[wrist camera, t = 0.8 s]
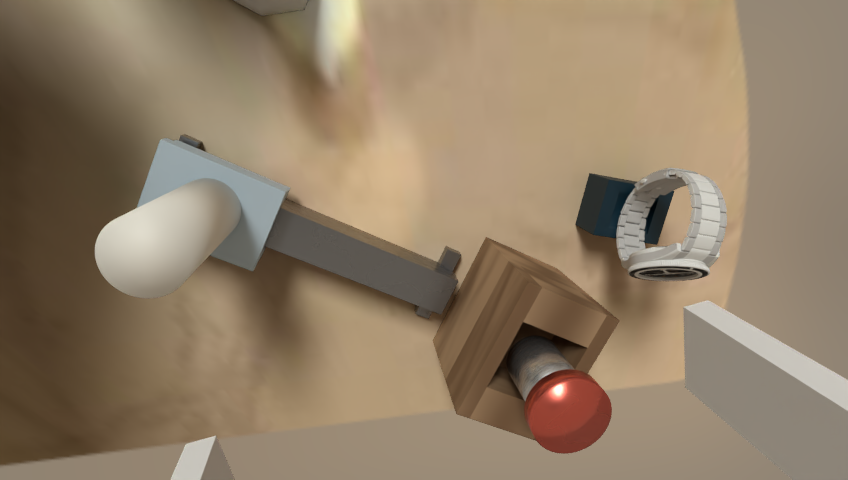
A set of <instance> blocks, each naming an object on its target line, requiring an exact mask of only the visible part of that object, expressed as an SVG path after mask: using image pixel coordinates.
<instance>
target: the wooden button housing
mask: <svg viewBox="0 0 848 480" xmlns="http://www.w3.org/2000/svg"><path fill="white" fill-rule="evenodd" d="M618 322H619V320H618V319H617V318H616V317H614V316H613V315H612V314H611V313H610V312H608V311H607V310H606V309H605V308H604V307H602V306H601V305H600V304H599V303H598V302H596V301H595V300H594V299H593V298H592V297H590V296H589V295H588V294H587V293H586V292H585V291H583V290H582V289H581V288H580V287H579V286H577V285H576V284H575V283H574V282H573V281H571V280H570V279H569V278H568V277H567V276H565V275H564V274H563V273H562V272H561V271H559V270H558V269H557V268H554V267H552V266H550V265H548V264H545V263H543V262H541V261H539V260H536V259H534V258H532V257H530V256H527V255H525V254H523V253H521V252H518V251H516V250H514V249H512V248H509V247H507V246H505V245H503V244H500V243H498V242H496V241H494V240H491V239H489V238H487V237H486V238H485V240H484V242H483V244H482V246H481V248H480V250H479V252H478V254H477V256H476V258H475V260H474V262H473V264H472V266H471V268H470V270H469V271H468V273H467V275H466V277H465V279H464V281H463V283H462V285H461V287H460V289H459V291H458V293H457V295H456V297H455V299H454V301H453V303H452V304H451V306H450V308H449V310H448V312H447V314H446V316H445V318H444V320H443V322H442V324H441V326H440V328H439V330H438V332H437V334H436V336H435V337H434V339H433V343H434V346H435V349H436V352H437V355H438V358H439V361H440V364H441V367H442V371H443V374H444V377H445V380H446V383H447V386H448V389H449V392H450V396H451V399H452V402H453V405H454V408H455V411H456V414H458V415H461V416H464V417H467V418H470V419H473V420H476V421H479V422H482V423H485V424H488V425H491V426H494V427H497V428H500V429H503V430H506V431H509V432H512V433H515V434H518V435H521V436H524V437H527V438H530V439H533V440H536V439H535V437H534V435H533V434H532V432H531V430H530V428H529V426H528V424H527V422H526V420H525V416H524V405H525V401H524V399H523V397H522V395H521V394H520V392H519V390H518V388H517V387H516V385H515V383H514V381H513V379H512V378H511V376H510V374H509V372H508V370H507V367H506V359H507V355H508V353H509V351H510V349H511V348H512V346H513V345H514V344H515V343H516V342H518V341H519V340H521V339H522V338H525V337H528V336H533V335H539V336H543V337H546V338H548V339H549V340H551V341H552V342H553V343H554V345H555V346H556V347H557V348H558V349H559V351H560V352H561V353H562V354H563V356H564V357H565V358H566V359H567V361H568V362H569V363H570V364H571V365H572V367H573V368H574V369H575V370H579V371H583V372H585V373H587V374H588V372H589V370H590V369H591V367H592V365H593V364H594V362H595V360H596V359H597V357H598V355H599V354H600V352H601V350H602V349H603V347H604V345H605V344H606V342H607V340H608V339H609V337H610V335H611V334H612V332H613V331H614V329H615V327H616V326H617V324H618ZM536 441H537V440H536Z"/></svg>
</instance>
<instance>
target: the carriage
mask: <svg viewBox="0 0 848 480" xmlns="http://www.w3.org/2000/svg"><path fill="white" fill-rule="evenodd" d="M289 190H290V188H289V187H287V186H285V185H282V184H280V183H278V182H275V181H273V180H271V179H268V178H266V177H263V176H261V175H259V174H256V173H254V172H252V171H249V170H247V169H245V168H242V167H240V166H238V165H235V164H233V163H230V162H228V161H226V160H223V159H221V158H219V157H216V156H214V155H212V154H209V153H207V152H205V151H202V150H200V149H197V148H195V147H193V146H190V145H188V144H186V143H183V142H181V141H179V140H174V141H172V140H170V139H168V138H164V139H160V142H159V145H158V148H157V151H156V154H155V156H154V159H153V162H152V165H151V168H150V171H149V174H148V177H147V180H146V182H145V185H144V188H143V191H142V194H141V197H140V200H139V203H138V205H137V208H136V209H134V210H132V211H130V212H128V213H126V214H124V215H122V216H120V217H118V218H116V219H114V220H112V221H111V222H109V223H108V224H107V225H106V226H105V227H104V228H103V229H102V230H101V232H100V234H99V235H98V238H97V240H96V244H95V259H96V263H97V266H98V268H99V270H100V272H101V274H102V275H103V276H104V278H105V279H106V280H107V281H108V282H109V283H110V284H111V285H112V286H113V287H115V288H116V289H118V290H119V291H121V292H123V293H125V294H128V295H130V296H134V297H138V298H148V299H149V298H158V297H162V296H166V295H168V294H170V293H172V292H174V291H175V290H177V289H178V288H179V287H180V286H181V285H182V284H183V283H184V282H185V281H186V280H187V279H188V278H189V277H190V276H191V274H192V273H193V272H194V271H195V270H196V269H197V268H198V267H199V266H200V265H201V264H202V263H203V262H204V261H205V260H206V259H207V257H208V256H209V255H210V256H213V257H215V258H218V259H221V260H223V261H226V262H229V263H231V264H234V265H237V266H239V267H242V268H245V269H247V270H250V271H254V269H255V267H256V265H257V263H258V261H259V259H260V258H261V256H262V254H263V252H264V250H265V248H266V246H265V243H266V241H267V238H268V236H269V234H270V231H271V229H272V226H273V224H274V222H275V219H276V217H277V214H278V212H279V209H280V207H281V205H282V203H283V201H284V200H285V199H286V197H287V194H288V192H289Z"/></svg>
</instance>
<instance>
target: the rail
mask: <svg viewBox="0 0 848 480" xmlns="http://www.w3.org/2000/svg"><path fill="white" fill-rule="evenodd" d="M179 141H181V142H183V143H186V144H188V145H190V146H193V147H195V148H197V149H200V146H201V143H202V141H199V140H197V139H195V138H192V137H190V136H188V135H185V134H184V135H181V136H180V139H179ZM265 246H266V247H268V248H271V249H273V250H276V251H278V252H281V253H284V254H286V255H289V256H291V257H294V258H296V259H299V260H302V261H304V262H307V263H309V264H312V265H314V266H317V267H320V268H322V269H325V270H327V271H330V272H332V273H335V274H338V275H340V276H343V277H345V278H348V279H350V280H353V281H356V282H358V283H361V284H363V285H366V286H369V287H371V288H374V289H376V290H379V291H381V292H384V293H387V294H389V295H392V296H394V297H397V298H399V299H402V300H405V301H407V302H410V303H412V304H415V305H417V306H416V308H415V313H416V314H417V315H420V316H423V317H425V318H428V319H429V317H430V315H431V313H432V311H433V312H435V313H438V314H442V312H443V310H444V308H445V306H446V304H447V302H448V301H449V299H450V297H451V295H452V293H453V291H454V289H455V287H456V285H457V283H458V279H457V278H456V276H455V274H454V272H453V270H454V268H455V266H456V264H457V262H458V260H459V258H460V256H461V254H460V252H458V251H456V250H454V249H451V248H449V247H447V246H446V247H445V249H444V251H443V253H442V255H441V257H440V259H439V261H438V262H436V261H433V260H431V259H428V258H426V257H424V256H421V255H419V254H416V253H414V252H412V251H409V250H407V249H404V248H402V247H400V246H397V245H395V244H392V243H390V242H388V241H385V240H383V239H380V238H378V237H376V236H373V235H371V234H368V233H366V232H364V231H361V230H359V229H357V228H354V227H352V226H349V225H347V224H345V223H342V222H340V221H337V220H335V219H333V218H330V217H328V216H325V215H323V214H321V213H318V212H316V211H313V210H311V209H309V208H306V207H304V206H301V205H299V204H297V203H294V202H292V201H289V200H287V199H285V200H284V201H283V203H282V205H281V207H280V209H279V212H278V214H277V217H276V219H275V222H274V224H273V226H272V229H271V231H270V234H269V236H268V238H267V241H266V243H265Z"/></svg>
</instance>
